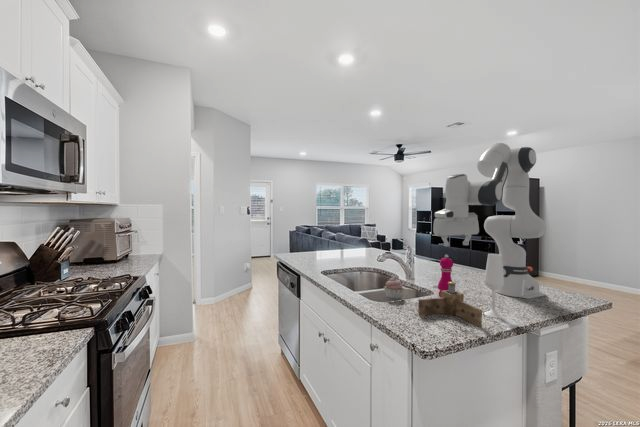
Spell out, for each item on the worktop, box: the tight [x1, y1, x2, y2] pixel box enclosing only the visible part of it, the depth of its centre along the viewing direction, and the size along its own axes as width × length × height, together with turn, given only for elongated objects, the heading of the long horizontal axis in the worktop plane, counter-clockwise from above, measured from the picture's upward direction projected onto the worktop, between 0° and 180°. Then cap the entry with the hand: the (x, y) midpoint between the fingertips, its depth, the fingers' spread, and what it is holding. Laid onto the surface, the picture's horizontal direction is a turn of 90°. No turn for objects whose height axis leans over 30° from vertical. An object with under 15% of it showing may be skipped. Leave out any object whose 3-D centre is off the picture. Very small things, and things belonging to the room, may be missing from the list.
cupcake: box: [383, 276, 405, 301], centre depth 136 cm, size 9×9×10 cm
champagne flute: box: [483, 253, 504, 319], centre depth 116 cm, size 7×7×24 cm
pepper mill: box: [437, 254, 454, 298], centre depth 140 cm, size 7×7×20 cm
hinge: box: [417, 290, 483, 327], centre depth 111 cm, size 18×18×8 cm
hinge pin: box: [448, 281, 457, 294], centre depth 118 cm, size 3×3×8 cm
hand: (456, 245), depth 123 cm, fingers open, 8 cm apart
